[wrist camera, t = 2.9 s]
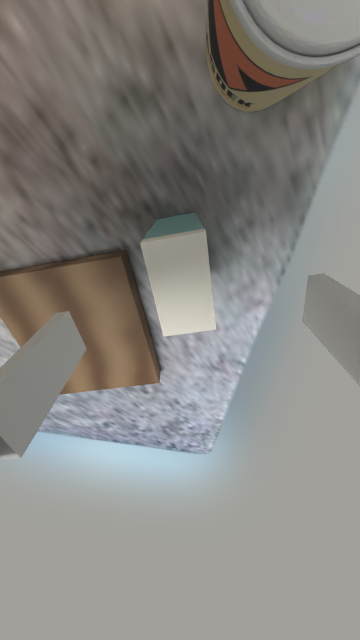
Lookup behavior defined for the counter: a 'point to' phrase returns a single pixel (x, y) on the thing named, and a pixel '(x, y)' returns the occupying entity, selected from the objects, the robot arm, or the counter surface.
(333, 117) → the counter surface
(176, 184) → the counter surface
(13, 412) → the robot arm
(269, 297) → the counter surface
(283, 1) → the white-capped cylinder
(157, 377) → the board
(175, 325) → the block
